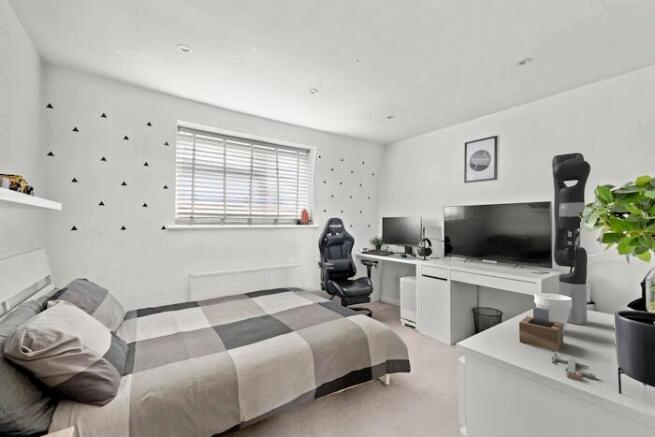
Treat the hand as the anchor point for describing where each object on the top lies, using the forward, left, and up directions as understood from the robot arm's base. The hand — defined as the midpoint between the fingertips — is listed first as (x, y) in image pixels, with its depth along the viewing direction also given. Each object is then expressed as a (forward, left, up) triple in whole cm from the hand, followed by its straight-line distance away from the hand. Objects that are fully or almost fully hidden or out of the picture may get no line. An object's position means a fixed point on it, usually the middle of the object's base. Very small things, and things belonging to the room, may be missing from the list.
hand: (573, 259), depth 105 cm
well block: (+9, -8, -30) cm, 33 cm away
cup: (-10, -8, -30) cm, 33 cm away
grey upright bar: (+9, -9, -30) cm, 33 cm away
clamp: (+26, +2, -31) cm, 40 cm away
